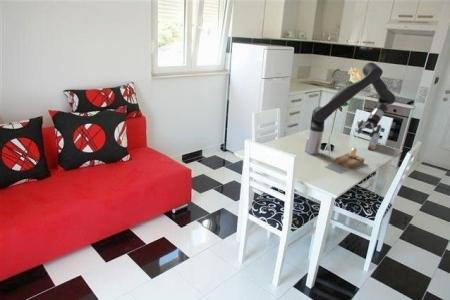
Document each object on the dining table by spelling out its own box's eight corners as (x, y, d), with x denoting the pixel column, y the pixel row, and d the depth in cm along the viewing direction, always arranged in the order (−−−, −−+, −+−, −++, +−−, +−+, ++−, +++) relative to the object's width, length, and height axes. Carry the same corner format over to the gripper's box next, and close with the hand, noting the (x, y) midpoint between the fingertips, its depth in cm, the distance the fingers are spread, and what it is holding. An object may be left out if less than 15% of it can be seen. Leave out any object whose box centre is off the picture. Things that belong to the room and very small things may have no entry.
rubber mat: (324, 167, 207) (324, 167, 207) (332, 164, 214) (332, 163, 213) (340, 174, 199) (341, 173, 199) (348, 170, 205) (348, 170, 205)
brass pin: (348, 162, 219) (351, 148, 216) (350, 161, 221) (353, 147, 217) (352, 163, 217) (355, 150, 213) (354, 162, 219) (357, 149, 215)
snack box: (374, 151, 244) (379, 132, 238) (367, 149, 246) (371, 131, 240) (377, 143, 261) (382, 126, 255) (370, 142, 263) (374, 124, 258)
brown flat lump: (334, 163, 215) (335, 158, 214) (347, 157, 227) (348, 153, 226) (350, 169, 207) (352, 164, 206) (363, 163, 219) (364, 158, 218)
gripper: (364, 111, 224) (353, 129, 221) (385, 116, 215) (373, 135, 211) (366, 117, 230) (355, 135, 226) (386, 122, 220) (375, 141, 217)
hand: (364, 135), depth 219 cm, fingers open, 8 cm apart
